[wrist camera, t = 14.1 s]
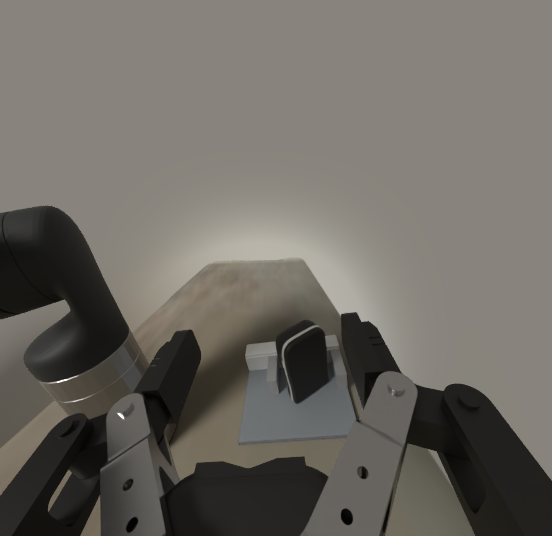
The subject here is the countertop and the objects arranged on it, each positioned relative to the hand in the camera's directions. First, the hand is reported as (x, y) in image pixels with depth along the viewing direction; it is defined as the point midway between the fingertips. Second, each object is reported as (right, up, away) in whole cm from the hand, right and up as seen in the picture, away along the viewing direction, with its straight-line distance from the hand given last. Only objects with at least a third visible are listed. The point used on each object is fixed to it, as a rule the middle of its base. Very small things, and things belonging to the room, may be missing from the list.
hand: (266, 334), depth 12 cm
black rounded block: (+5, -15, +25) cm, 30 cm away
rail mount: (+4, -16, +25) cm, 30 cm away
